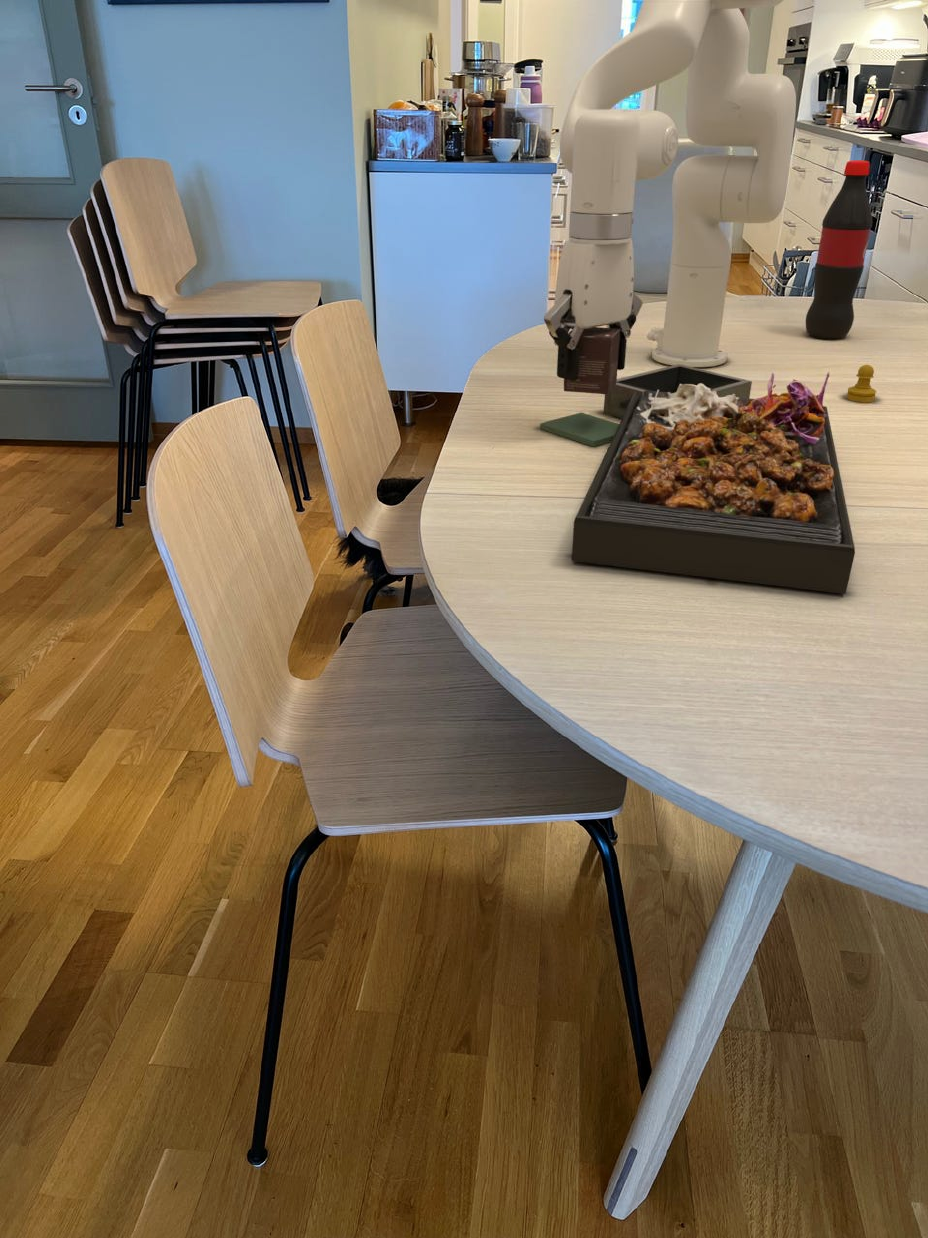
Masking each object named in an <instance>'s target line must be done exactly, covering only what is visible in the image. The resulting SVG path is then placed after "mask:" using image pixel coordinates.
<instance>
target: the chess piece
mask: <svg viewBox="0 0 928 1238" xmlns="http://www.w3.org/2000/svg"><path fill="white" fill-rule="evenodd" d="M874 373H875V370H874V368H873V366H872V365H869V364H864V365H861V366H860V367H859V369H858V371H857V374H856V377H857V378H858V379H857V382H856V384H854V385H853V386H849V387H848V388H847V393H846V399H847V400H848V401H852V402H856V403H873V402H875V398H876V394H877V390H876V389H875V388H872V386H871V379H873V378H874V375H875V374H874Z"/></svg>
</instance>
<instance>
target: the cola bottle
mask: <svg viewBox="0 0 928 1238" xmlns="http://www.w3.org/2000/svg"><path fill="white" fill-rule="evenodd" d="M870 168H871V163H870V161H868V160H862V159H861V160H860V159H858V160H857V159H856V160H849V161H846V164H845V167H844V172H843V177H845V178H844V180H843V183H842V186H841V188H840V190H839V192H838V193H837V195H836V196H835V198H834V199H833V201H832V203H831V204H830V206H829V208H828V210H827V212H826V213H825V216H824V217H823V220H822V223H821V226H822V228H821V232H820V233H821V234H820V239H819V245H818V251H817V257H816V263H814V281H813V282H814V283H813V284H814V285H813V300H812V302H811V304H810V306H809V308H808V310H807V312H806V316H805V330H806V332H807V334H808V335H809V336H811V337H812V338H816V339H820V340H840V339H843V338H844V337H846V336H847V335H848V334H849V333H850V331H851V329H852V327H853V324H854V321H855V312H854V303H853V301H854V298H855V295H856V292H857V289H858V287H859V285H860V284H859V283H860V280H861V277H862V275H863V272H864V268H865V260H866V254H867V249H868V244H869V239H870V233H871V229H872V227H873V215H872V210H871V205H870V200H869V197H868V193H867V178H868V177H869V174H870Z"/></svg>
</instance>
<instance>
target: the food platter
mask: <svg viewBox="0 0 928 1238" xmlns="http://www.w3.org/2000/svg"><path fill="white" fill-rule="evenodd" d="M830 374H831V373H830V371H828V372H827V374H826V377H825V380H824V383H823V386H822V387H821V390H820V392H819V394H814V393H813V392H812V391H811V389H810V388H809V387H808V386H807V385H806V384H805V383H804V382H801V381H800V380H797V379H794V378H793V379H792V381H791V382H789V384H788V385H786V390H787V392H782V393H780V395H779V394H778V393H776V392H775V393H773V389H775V387H776V386H777V384H774V382H775V381H774V380H775V374H774V373H773V372H772V373H771V377H770V379H769V381H768V382H767V395H765V396H760V397H757V398H749V399H747V398H737V397H735V394H732V395H727V396H726V397H720V396H717V393H716V391H710V389H711V388H707V387H706V386H705V385H703V384H702V383H699V384H698V385H697V386H696V385H693V384H684V385H682V384H680V385H679V387H678V388H677V392H675V393H670V392H659V390H657V392H656V391H644V392H642V393H641V392H634V394H633V396H632V399H631V401H630V403H629V405H628V407H627V409H626V411H625V413H624V416H623V418H622V419H621V420H620V421H619V423H618V424H619V426H618V428H617V430H616V433H615V435H614V437H613V439H612V441H611V442H609V446H608V447H607V449H606V452H605V453H604V456H603V458H602V460H601V463H600V464H599V467H598V469H597V470H596V473H595V475H594V477H593V479H592V482H591V484H590V486H589V488H588V490H587V492H586V494H585V496H584V498H583V501H582V503H581V504H580V507H579V509H578V510H577V511H578V512H577V513H576V516H575V518H574V520H573V528H572V529H573V531H572V532H573V533H572V547H571V562H579V563H586V564H594V565H603V566H611V567H612V566H613V567H618V568H627V569H636V570H644V571H651V572H662V573H667V574H668V573H670V574H676V575H677V574H678V575H685V576H693V577H702V578H710V579H718V580H727V581H735V582H745V583H751V584H759V585H768V586H776V587H784V588H793V589H801V590H810V591H819V592H826V593H833V594H841V595H846V594H847V590H848V586H849V580H850V576H851V571H852V568H853V563H854V559H855V554H856V549H855V543H854V539H853V531H852V528H851V523H850V517H849V513H848V508H847V503H846V498H845V491H844V488H843V487H844V486H843V483H842V478H841V472H840V467H839V461H838V457H837V452H836V447H835V442H834V437H833V431H832V426H831V421H830V416H829V411H828V407H827V406H825V405H823V404H824V395H825V392H826V387H827V383H828V381H829V378H830Z"/></svg>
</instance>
